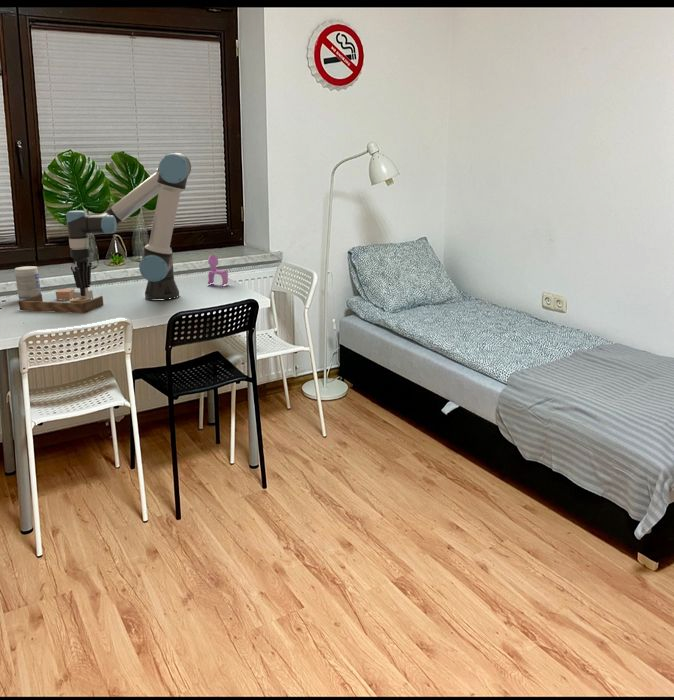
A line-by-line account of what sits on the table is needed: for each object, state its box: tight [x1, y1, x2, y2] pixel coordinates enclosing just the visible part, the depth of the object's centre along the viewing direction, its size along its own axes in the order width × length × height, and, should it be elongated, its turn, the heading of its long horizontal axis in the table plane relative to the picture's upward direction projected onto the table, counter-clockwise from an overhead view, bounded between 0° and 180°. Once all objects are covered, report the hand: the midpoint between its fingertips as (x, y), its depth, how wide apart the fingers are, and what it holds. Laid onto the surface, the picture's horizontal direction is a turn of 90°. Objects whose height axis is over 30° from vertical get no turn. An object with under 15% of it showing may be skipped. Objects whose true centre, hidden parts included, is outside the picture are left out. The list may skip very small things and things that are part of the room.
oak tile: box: [69, 298, 92, 303], centre depth 295 cm, size 6×6×4 cm
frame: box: [18, 293, 104, 314], centre depth 295 cm, size 30×15×4 cm, turn 80°
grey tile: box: [72, 289, 94, 300], centre depth 312 cm, size 6×6×4 cm
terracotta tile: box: [55, 288, 76, 301], centre depth 313 cm, size 6×6×4 cm
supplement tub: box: [14, 265, 42, 301], centre depth 309 cm, size 10×10×15 cm
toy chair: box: [207, 254, 229, 286], centre depth 337 cm, size 8×9×15 cm
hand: (85, 302), depth 298 cm, fingers closed
